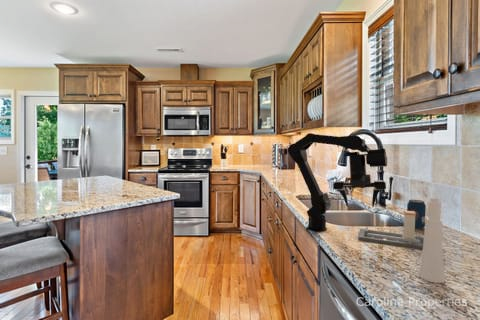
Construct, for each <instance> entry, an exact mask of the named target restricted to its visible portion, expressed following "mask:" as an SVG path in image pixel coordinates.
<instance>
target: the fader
mask: <svg viewBox="0 0 480 320" xmlns="http://www.w3.org/2000/svg"><path fill="white" fill-rule="evenodd" d="M415 216H416V213H415V212H414V211H407V210H403V233H402V234H403V235H402V236H401V237H402V238H407V239H415V240H416V238H415V237H414V235H415V234H416V233H415V231H416V229H415Z"/></svg>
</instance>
